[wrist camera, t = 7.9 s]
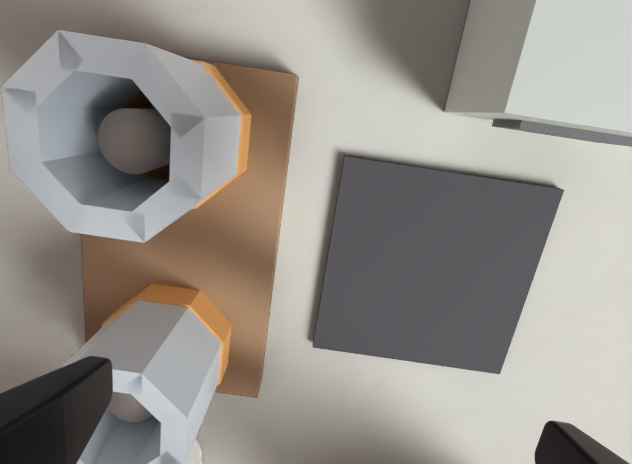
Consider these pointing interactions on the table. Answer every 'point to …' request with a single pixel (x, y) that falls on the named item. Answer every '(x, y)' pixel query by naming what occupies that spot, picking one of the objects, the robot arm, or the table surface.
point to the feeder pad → (430, 263)
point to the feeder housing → (548, 67)
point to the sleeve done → (159, 374)
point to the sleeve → (84, 121)
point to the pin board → (202, 229)
